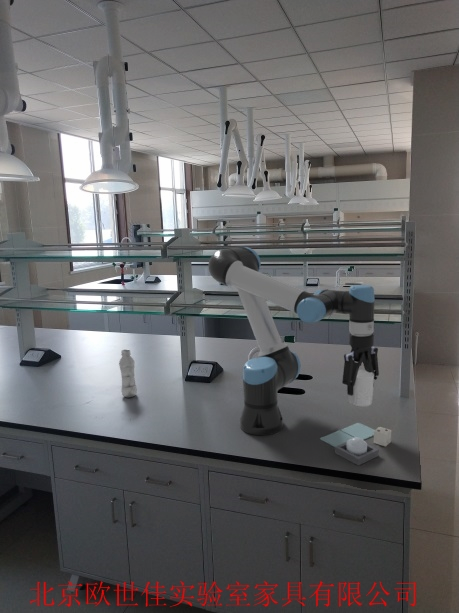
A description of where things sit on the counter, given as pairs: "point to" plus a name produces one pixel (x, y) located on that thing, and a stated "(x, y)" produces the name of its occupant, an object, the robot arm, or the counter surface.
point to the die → (382, 436)
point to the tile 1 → (336, 438)
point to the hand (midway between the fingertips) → (360, 400)
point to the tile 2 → (359, 431)
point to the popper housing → (358, 460)
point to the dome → (357, 446)
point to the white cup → (364, 388)
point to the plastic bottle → (127, 374)
